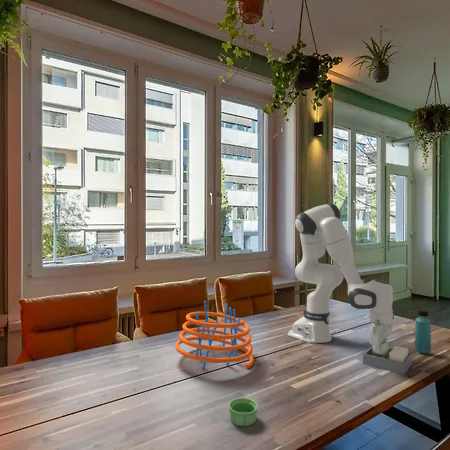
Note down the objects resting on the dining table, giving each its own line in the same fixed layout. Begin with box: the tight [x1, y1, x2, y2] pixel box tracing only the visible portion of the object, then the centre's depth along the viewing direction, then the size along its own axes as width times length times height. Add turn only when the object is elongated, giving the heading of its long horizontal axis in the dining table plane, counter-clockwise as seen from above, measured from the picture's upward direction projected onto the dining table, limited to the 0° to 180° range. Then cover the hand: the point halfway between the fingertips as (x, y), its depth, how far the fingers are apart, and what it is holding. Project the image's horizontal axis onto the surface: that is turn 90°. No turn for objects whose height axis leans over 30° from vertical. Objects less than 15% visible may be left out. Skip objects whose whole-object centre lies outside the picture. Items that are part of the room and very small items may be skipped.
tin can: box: [371, 341, 390, 359], centre depth 149 cm, size 6×6×8 cm
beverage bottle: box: [414, 309, 432, 354], centre depth 161 cm, size 6×7×20 cm
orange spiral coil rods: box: [174, 300, 255, 370], centre depth 153 cm, size 34×35×24 cm
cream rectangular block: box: [389, 345, 409, 363], centre depth 145 cm, size 5×10×6 cm, turn 141°
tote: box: [362, 345, 413, 375], centre depth 148 cm, size 16×14×5 cm
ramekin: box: [228, 397, 259, 427], centre depth 108 cm, size 9×9×4 cm
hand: (380, 349), depth 149 cm, fingers closed on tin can, 6 cm apart
